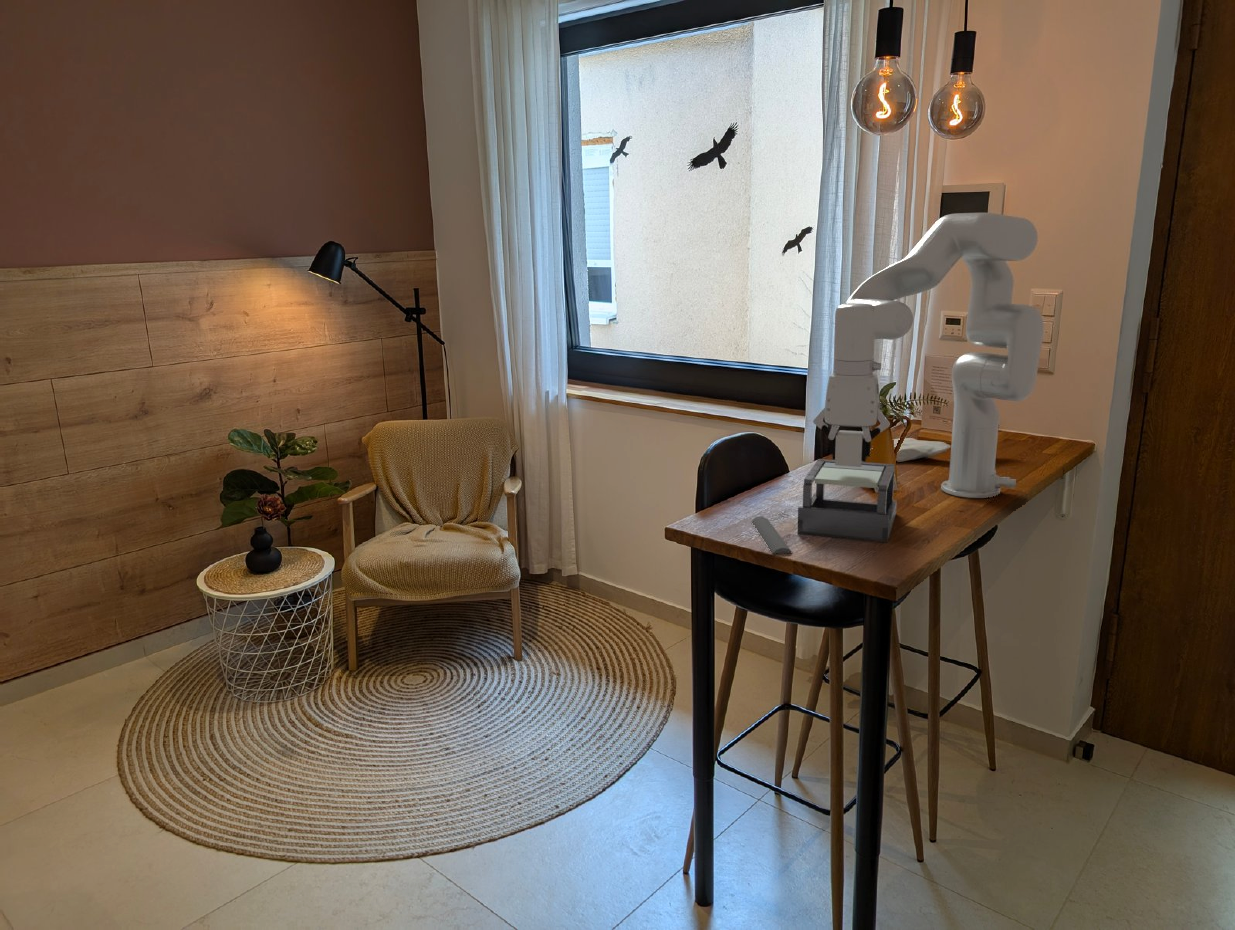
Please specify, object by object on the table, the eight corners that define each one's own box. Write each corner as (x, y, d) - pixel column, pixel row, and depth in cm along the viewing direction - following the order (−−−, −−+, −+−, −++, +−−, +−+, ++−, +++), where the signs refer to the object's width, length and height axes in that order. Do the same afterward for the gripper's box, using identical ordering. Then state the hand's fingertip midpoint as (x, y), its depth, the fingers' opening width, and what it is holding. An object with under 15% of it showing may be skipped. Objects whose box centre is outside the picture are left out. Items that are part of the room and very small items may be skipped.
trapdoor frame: (896, 513, 188) (898, 463, 186) (887, 542, 171) (890, 488, 169) (813, 506, 195) (815, 458, 192) (797, 533, 178) (798, 480, 175)
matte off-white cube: (864, 460, 178) (865, 431, 177) (860, 466, 174) (862, 437, 172) (838, 459, 180) (839, 430, 178) (834, 465, 176) (835, 435, 174)
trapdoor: (883, 477, 184) (884, 466, 184) (876, 495, 172) (877, 483, 172) (825, 473, 189) (825, 462, 188) (814, 490, 177) (814, 478, 176)
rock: (920, 472, 221) (955, 457, 229) (919, 455, 219) (954, 440, 228) (851, 463, 238) (886, 449, 246) (850, 446, 237) (885, 432, 245)
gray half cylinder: (771, 557, 167) (771, 548, 166) (749, 524, 186) (749, 516, 185) (793, 556, 167) (794, 547, 167) (769, 523, 186) (770, 515, 185)
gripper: (900, 366, 172) (895, 457, 177) (812, 364, 178) (809, 451, 183) (897, 372, 165) (892, 466, 170) (805, 369, 172) (803, 460, 176)
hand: (849, 458), depth 177 cm, fingers closed on matte off-white cube, 5 cm apart
